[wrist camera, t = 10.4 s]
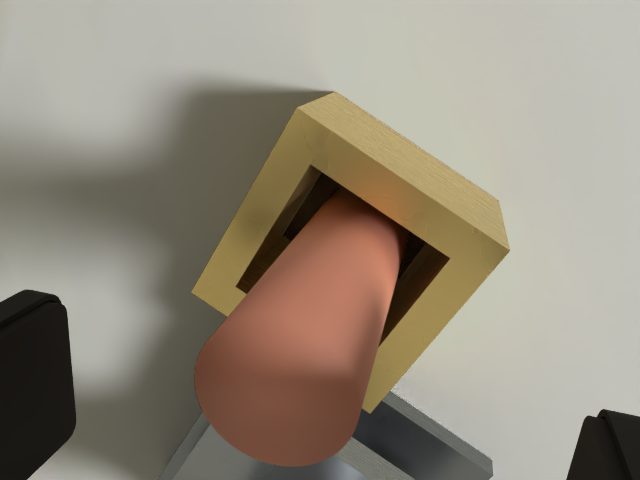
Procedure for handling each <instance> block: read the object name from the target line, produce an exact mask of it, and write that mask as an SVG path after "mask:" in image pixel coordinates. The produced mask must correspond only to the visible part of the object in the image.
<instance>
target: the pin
mask: <svg viewBox="0 0 640 480" xmlns="http://www.w3.org/2000/svg"><path fill="white" fill-rule="evenodd" d="M409 233H410V231H409V230H408V229H406V228H405V227H403V226H402V225H400V224H399V223H397V222H396V221H394V220H393V219H391V218H390V217H388V216H387V215H385V214H384V213H382V212H381V211H379V210H378V209H376V208H375V207H373V206H372V205H370V204H369V203H367V202H366V201H364V200H363V199H361V198H360V197H358V196H357V195H355V194H354V193H352V192H351V191H349V190H348V189H347V188H345V187H344V186H340V187H339V188H337V189H336V190H335V191H334V192H333V193H332V194H331V196H330V197H329V198H328V199H327V200H326V202H325V203H324V204H323V205H322V206H321V207H320V209H319V210H318V211H317V212H316V213H315V215H314V216H313V217H312V218H311V219H310V220H309V222H308V223H307V224H306V225H305V226H304V228H303V229H302V230H301V231H300V232H299V233H298V235H297V236H296V237H295V238H294V239H293V240H292V242H291V243H290V244H289V245H288V246H287V248H286V249H285V250H284V251H283V252H282V253H281V255H280V256H279V257H278V258H277V259H276V261H275V262H274V263H273V264H272V265H271V266H270V268H269V269H268V270H267V271H266V272H265V273H264V275H263V276H262V277H261V278H260V279H259V281H258V282H257V283H256V284H255V285H254V286H253V288H252V289H251V290H250V291H249V292H248V294H247V295H246V296H245V297H244V298H243V299H242V301H241V302H240V303H239V304H238V305H237V307H236V308H235V309H234V310H233V311H232V312H231V314H230V315H229V316H228V317H227V318H226V319H225V321H224V322H223V323H222V324H221V325H220V327H219V328H218V329H217V330H216V331H215V332H214V334H213V335H212V336H211V337H210V338H209V340H208V341H207V342H206V343H205V344H204V346H203V348H202V349H201V351H200V353H199V356H198V358H197V361H196V366H195V373H194V382H195V390H196V395H197V399H198V401H199V404H200V407H201V409H202V411H203V413H204V415H205V417H206V418H207V420H208V421H209V423H210V424H211V425H212V427H213V428H214V429H215V430H216V432H217V433H218V434H219V435H220V436H221V437H222V438H223V439H224V440H226V441H227V442H228V443H229V444H231V445H232V446H233V447H235V448H236V449H238V450H239V451H241V452H242V453H244V454H246V455H248V456H250V457H252V458H255V459H257V460H260V461H263V462H266V463H269V464H274V465H279V466H290V467H293V466H306V465H311V464H315V463H318V462H321V461H323V460H326V459H328V458H330V457H331V456H333V455H335V454H336V453H337V452H339V451H340V450H341V449H342V448H343V447H344V446H345V445H346V444H347V442H348V441H349V440H350V438H351V437H352V435H353V433H354V431H355V428H356V426H357V423H358V419H359V416H360V412H361V408H362V405H363V401H364V398H365V394H366V390H367V387H368V383H369V379H370V376H371V372H372V368H373V365H374V361H375V357H376V354H377V350H378V346H379V343H380V339H381V335H382V332H383V328H384V324H385V321H386V317H387V313H388V310H389V306H390V302H391V299H392V295H393V291H394V288H395V284H396V281H397V277H398V273H399V270H400V266H401V262H402V259H403V255H404V251H405V248H406V244H407V240H408V237H409Z"/></svg>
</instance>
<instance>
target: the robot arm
mask: <svg viewBox="0 0 640 480" xmlns="http://www.w3.org/2000/svg"><path fill="white" fill-rule="evenodd" d="M75 425H76V411H75V399H74V388H73V376H72V364H71V353H70V341H69V329H68V318H67V310H66V308H65V306H64V305H62V304H61V301H60V299H59V298H58V297H57V296H56V295H53V294H48V293H43V292H38V291H34V290H23V291H21V292H19V293H17V294H15V295H13V296H11V297H9V298H7V299H6V300H4V301H2V302H0V480H27V479H28V478H29V477H30V476H31V475H32V474H33V473H34V472H35V471H36V470H37V469H38V468H39V467H41V466H42V465H43V464H44V463H45V462H46V461H47V460H48V459H49V458H50V457H51V456H52V455H53V454H54V453H55V452H56V451H57V450H58V449H59V448H60V447H61V446H62V445H63V444H64V443H66V442H67V441H68V439H69V438H70V437H71V435H72V434H73V431H74V429H75ZM566 480H640V417H639V416H634V415H629V414H624V413H619V412H615V411H610V410H605V409H603V410H601V411H600V412H599V414H598V416H597V417H593V416H586V418H585V419H584V422H583V425H582V428H581V432H580V435H579V438H578V442H577V445H576V449H575V452H574V455H573V459H572V462H571V466H570V469H569V472H568V476H567V479H566Z"/></svg>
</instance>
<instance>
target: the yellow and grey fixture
mask: <svg viewBox="0 0 640 480" xmlns="http://www.w3.org/2000/svg"><path fill="white" fill-rule="evenodd" d="M322 172H323V173H324V174H326V175H327V176H329V177H330V178H332V179H333V180H335V181H336V182H338V183H339V184H341V185H342V186H344V187H345V188H347V189H348V190H349V191H351V192H352V193H354V194H355V195H357V196H358V197H360V198H361V199H363V200H364V201H366V202H367V203H369V204H370V205H372V206H373V207H375V208H376V209H378V210H379V211H381V212H382V213H384V214H385V215H387V216H388V217H390V218H391V219H393V220H394V221H396V222H397V223H399V224H400V225H402V226H403V227H405V228H406V229H408V230H409V231H411V232H412V233H413V234H415V235H416V236H418V237H419V238H421V239H422V240H424V241H425V242H427V243H426V244H425V245H424V247H423V248H422V249H421V251H420V252H419V253H418V254H417V256H416V257H415V258H414V260H413V261H412V262H411V263H410V265H409V266H408V267H407V269H406V270H405V271H404V273H403V274H402V275H401V276H400V278H399V279H398V280H397V282H396V284H395V288H394V291H393V295H392V299H391V302H390V306H389V310H388V313H387V317H386V321H385V324H384V328H383V332H382V335H381V339H380V343H379V346H378V350H377V354H376V357H375V361H374V365H373V368H372V372H371V376H370V379H369V383H368V387H367V390H366V394H365V398H364V401H363V405H362V408H361V412H360V416H359V419H358V423H357V426H356V428H355V431H354V433H353V435H352V437H351V438H350V440H349V441H348V442H347V444H346V445H345V446H344V447H343V448H342V449H341V450H340V451H339V452H337V453H336V454H335V455H333V456H331V457H330V458H328V459H326V460H323V461H321V462H318V463H315V464H311V465H306V466H293V467H290V466H279V465H274V464H269V463H266V462H263V461H260V460H257V459H255V458H252V457H250V456H248V455H246V454H244V453H242V452H241V451H239V450H238V449H236V448H235V447H233V446H232V445H231V444H229V443H228V442H227V441H226V440H224V439H223V438H222V437H221V436H220V435H219V434H218V433H217V432H216V430H215V429H214V428H213V427H212V425H211V424H210V423H209V421H208V420H207V418H206V417H205V415H204V413H203V412H202V413H201V415H200V416H199V418H198V419H197V421H196V422H195V424H194V425H193V427H192V428H191V430H190V431H189V433H188V434H187V436H186V437H185V439H184V440H183V442H182V443H181V445H180V446H179V448H178V449H177V451H176V452H175V454H174V455H173V457H172V458H171V460H170V461H169V463H168V464H167V466H166V468H165V469H164V471H163V472H162V474H161V475H160V477H159V478H158V480H489V479H490V478H491V477H492V476H493V467H492V460H491V459H489V458H488V457H486V456H485V455H484V454H482V453H481V452H479V451H478V450H476V449H475V448H473V447H472V446H470V445H469V444H467V443H466V442H464V441H463V440H461V439H460V438H458V437H457V436H455V435H454V434H452V433H451V432H450V431H448V430H447V429H445V428H444V427H442V426H441V425H439V424H438V423H436V422H435V421H433V420H432V419H430V418H429V417H427V416H426V415H424V414H423V413H421V412H420V411H418V410H417V409H415V408H414V407H413V406H411V405H410V404H408V403H407V402H405V401H404V400H402V399H401V398H399V397H398V396H396V395H395V394H393V393H392V392H390V390H391V389H392V388H393V386H394V385H395V384H396V383H397V382H398V381H399V379H400V378H401V377H402V376H403V375H404V374H405V372H406V371H407V370H408V369H409V368H410V367H411V365H412V364H413V363H414V362H415V361H416V360H417V358H418V357H419V356H420V355H421V354H422V353H423V351H424V350H425V349H426V348H427V347H428V346H429V344H430V343H431V342H432V341H433V340H434V339H435V338H436V336H437V335H438V334H439V333H440V332H441V331H442V329H443V328H444V327H445V326H446V325H447V324H448V322H449V321H450V320H451V319H452V318H453V317H454V315H455V314H456V313H457V312H458V311H459V310H460V308H461V307H462V306H463V305H464V304H465V303H466V301H467V300H468V299H469V298H470V297H471V296H472V294H473V293H474V292H475V291H476V290H477V289H478V287H479V286H480V285H481V284H482V283H483V282H484V280H485V279H486V278H487V277H488V276H489V275H490V273H491V272H492V271H493V270H494V269H495V268H496V266H497V265H498V264H499V263H500V262H501V261H502V259H503V258H504V257H505V256H506V255H507V254H508V252H509V251H510V248H509V244H508V239H507V235H506V230H505V226H504V222H503V217H502V213H501V208H500V204H499V201H498V200H497V199H495V198H494V197H492V196H491V195H489V194H488V193H486V192H485V191H483V190H482V189H480V188H479V187H477V186H476V185H474V184H473V183H471V182H470V181H468V180H467V179H465V178H464V177H462V176H461V175H459V174H458V173H456V172H455V171H453V170H452V169H450V168H449V167H447V166H446V165H444V164H443V163H441V162H440V161H438V160H437V159H435V158H434V157H432V156H431V155H430V154H428V153H427V152H425V151H424V150H422V149H421V148H419V147H418V146H416V145H415V144H413V143H412V142H410V141H409V140H407V139H406V138H404V137H403V136H401V135H400V134H398V133H397V132H395V131H394V130H392V129H391V128H389V127H388V126H386V125H385V124H383V123H382V122H380V121H379V120H377V119H376V118H374V117H373V116H371V115H370V114H368V113H367V112H365V111H364V110H362V109H361V108H359V107H358V106H356V105H355V104H353V103H352V102H350V101H349V100H347V99H346V98H344V97H343V96H341V95H340V94H338V93H337V92H333V93H331V94H329V95H326V96H324V97H321V98H319V99H316V100H314V101H311V102H309V103H307V104H304V105H302V106H299V107H297V108H296V110H295V111H294V113H293V115H292V117H291V118H290V120H289V122H288V124H287V125H286V127H285V129H284V131H283V132H282V134H281V136H280V138H279V139H278V141H277V143H276V145H275V146H274V148H273V150H272V152H271V153H270V155H269V157H268V159H267V160H266V162H265V164H264V166H263V167H262V169H261V171H260V173H259V174H258V176H257V178H256V180H255V181H254V183H253V185H252V187H251V188H250V190H249V192H248V194H247V195H246V197H245V199H244V201H243V202H242V204H241V206H240V208H239V209H238V211H237V213H236V215H235V216H234V218H233V220H232V222H231V223H230V225H229V227H228V229H227V230H226V232H225V234H224V236H223V238H222V239H221V241H220V243H219V245H218V246H217V248H216V250H215V252H214V253H213V255H212V257H211V259H210V260H209V262H208V264H207V266H206V267H205V269H204V271H203V273H202V274H201V276H200V278H199V280H198V281H197V283H196V285H195V287H194V288H193V290H192V292H191V293H193V294H194V295H196V296H197V297H199V298H200V299H202V300H203V301H205V302H206V303H207V304H209V305H210V306H212V307H213V308H215V309H216V310H218V311H219V312H221V313H222V314H224V315H225V316H227V317H228V316H229V315H230V314H231V312H232V311H233V310H234V309H235V308H236V307H237V305H238V304H239V303H240V302H241V301H242V299H243V298H244V297H245V296H246V295H247V294H248V292H249V291H250V290H251V289H252V288H253V286H254V285H255V284H256V283H257V282H258V281H259V279H260V278H261V277H262V276H263V275H264V273H265V272H266V271H267V270H268V269H269V268H270V266H271V265H272V264H273V263H274V262H275V261H276V259H277V258H278V257H279V256H280V255H281V253H282V252H283V251H284V250H285V249H286V248H287V246H288V245H289V244H290V243H291V242H292V241H291V240H290V239H288V238H287V237H285V236H284V235H283V234H284V232H285V231H286V229H287V228H288V226H289V224H290V223H291V221H292V220H293V218H294V217H295V215H296V213H297V212H298V210H299V209H300V207H301V205H302V204H303V202H304V201H305V199H306V197H307V196H308V194H309V193H310V191H311V189H312V188H313V186H314V185H315V183H316V181H317V180H318V178H319V177H320V175H321V174H322Z"/></svg>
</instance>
